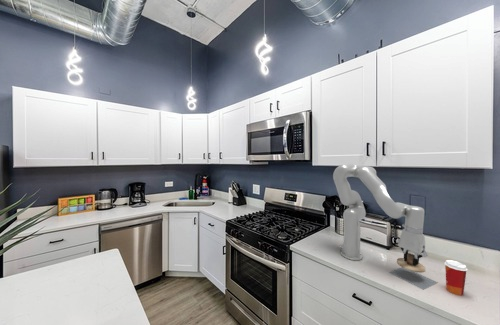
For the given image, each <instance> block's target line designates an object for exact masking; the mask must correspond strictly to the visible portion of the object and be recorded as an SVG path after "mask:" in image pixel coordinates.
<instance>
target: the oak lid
mask: <svg viewBox="0 0 500 325" xmlns="http://www.w3.org/2000/svg"><path fill="white" fill-rule="evenodd" d="M413 258H415V254H414V253H411V252H408V253H407V261H404V257H398V258H397V259H396V264H397V265H398V266H400V268H401V267H403V268H405V269H407V270H410V271H413V272H416V273H419V274H420V273H424V272H426V266H425V265H424V264H422V263H420V262H419V264H418V265H416V266H414V265H413Z"/></svg>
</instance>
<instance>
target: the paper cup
mask: <svg viewBox="0 0 500 325" xmlns="http://www.w3.org/2000/svg"><path fill="white" fill-rule="evenodd" d="M443 264H444V265H445V266H444V267H445V287H446V291H447V292H449V293H450V294H453V295H456V296H464V291H465V285H466V279H467V277H466V276H467V271H468V268H467V265H466V264H464V263H463V262H462V263H461V262H460V261H456V260H453V259H452V260H451V259H447V260H445V262H444V263H443Z"/></svg>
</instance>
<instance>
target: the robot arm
mask: <svg viewBox="0 0 500 325" xmlns="http://www.w3.org/2000/svg"><path fill="white" fill-rule="evenodd" d="M350 177H351V178H352V177H353V178H358V179H359V180H360V181H361V182H362V183H363V184H364V186H365V187H367V189H368V190H369V191H370V192H371V194H372V196H373V198H374V199H375V201H376V203H377V204H378V206H379V207H380V208H381V210H382V211H384V213H385V215H387V216H389V218H392V219H400V218H402V217H405V219H404V220H405V222H404V223H402V224H401V226H402V227H403V228H402V230H401V233H400V237H399V242H398V243H397V246H398V247H399V248H400V249H401V251H402V253H403V258H404V261H407V253H409V252H410V253H411V252H412V254H414V255H415V258H413V265H414V266H416V265H418V264H419V263H420V262H419V261H420V258H427V257H429V255H428V253H427V251H426V238H425V234H423V233H424V222H425V209H424V207H421V206H417V205H410V204H406V203H403V202H395V200H393V198H391V196H390V195H389V193H388V189H387V185H386V184H385V182H383V181H382V180H381V179H380V178H379V177H378V175H377V170H376V169H375V168H374V167H372V166H368V165H367V166H366V165H360V164H359V165H357V164H353V163H352V164H351V163H350V164H349V163H348V164H339V165H338V166H337V167H336V168H335V169H334V171H333V174H332V178H333V182H334V185H335V187H336V191H337V194H338V197H339V200H340V203H341V204H342V205H344V206H348V207H347V208H346V209H345V210H344V211H343V214H342V215H343V216H342V218H343V244H342V243H341V244H340V245H339V248H340V249H341V251H340V254H341V256H342V257H343V258H346V259H348V260H352V261H361V260H363V258H364V257H363V255H362V254H361V225H360V221H362V220H363V219H365V217H366V214H367V213H366V212H367V211H366V208H365V206H364V203H363V200H362V198H361V195H360V193H359V192H358V191H357V190H353V189H352V188H351V184H350V183H349V181H348V178H350Z"/></svg>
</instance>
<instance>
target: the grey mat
mask: <svg viewBox="0 0 500 325" xmlns="http://www.w3.org/2000/svg"><path fill="white" fill-rule="evenodd" d="M388 273H389V274H391V275H393V276H396V277H397V278H399V279H401V280H402V281H405V282H406V283H408V284H411V285H413V286H415V287H416V288H418V289H421V290H426V289H428V288H430V287H432V286H435V285H436V284H438V283H439V282H438V281H436V280H434V279H432V278H429V277H427V276H425V275H422V274H420V273H419V272H413V271H410V270H407V269H405V268H403V267H401V266H400V267H399V268H396V269H393V270H390V271H389V272H388Z"/></svg>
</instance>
